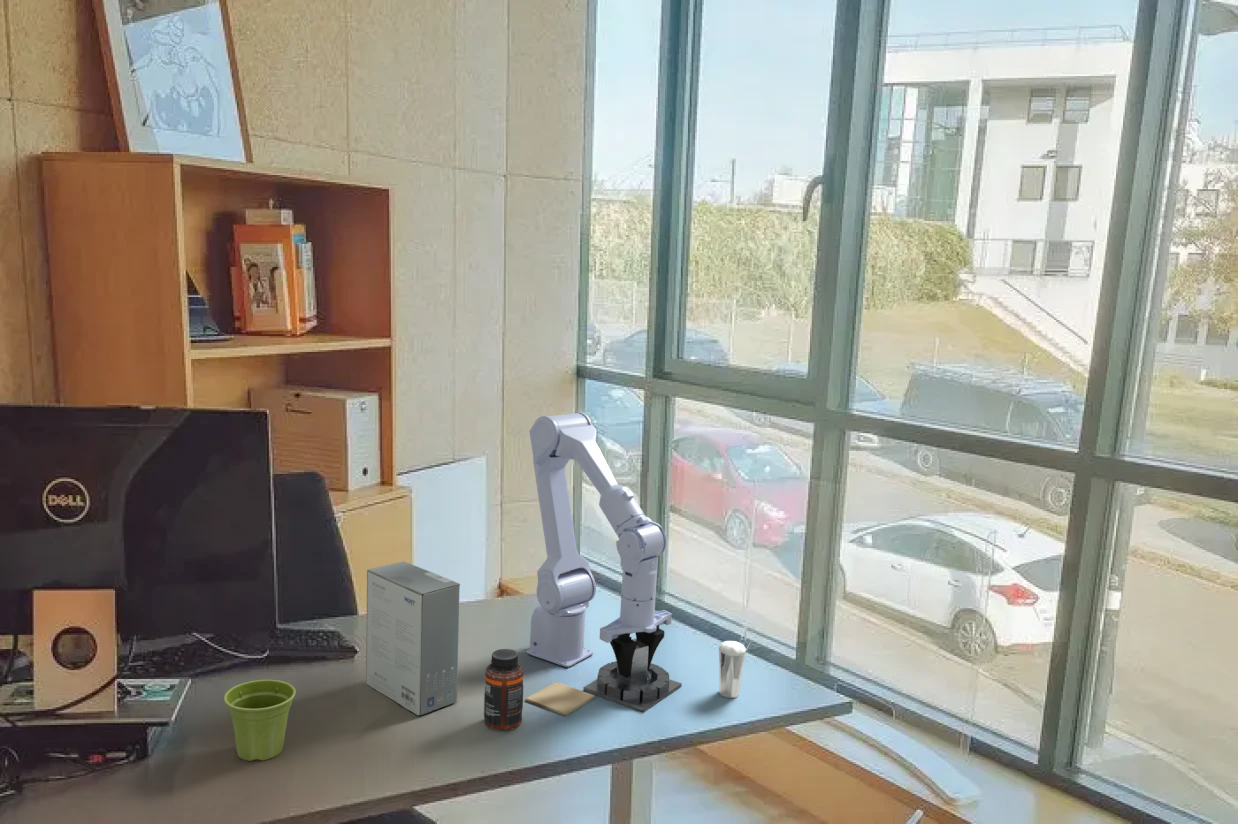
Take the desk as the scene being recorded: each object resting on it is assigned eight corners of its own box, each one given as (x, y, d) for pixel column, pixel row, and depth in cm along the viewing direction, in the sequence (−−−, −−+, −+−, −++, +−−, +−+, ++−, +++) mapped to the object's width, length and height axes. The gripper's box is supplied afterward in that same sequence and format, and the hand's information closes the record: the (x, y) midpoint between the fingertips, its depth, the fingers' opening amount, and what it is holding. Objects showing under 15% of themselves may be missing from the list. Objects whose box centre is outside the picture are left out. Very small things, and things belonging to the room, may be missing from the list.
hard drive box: (458, 703, 153) (462, 584, 150) (419, 718, 147) (421, 594, 144) (402, 671, 163) (404, 559, 160) (363, 684, 158) (364, 568, 154)
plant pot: (265, 728, 142) (264, 673, 140) (309, 747, 137) (309, 690, 136) (210, 754, 134) (209, 696, 132) (255, 775, 129) (255, 715, 128)
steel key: (630, 690, 159) (632, 650, 158) (616, 682, 162) (618, 643, 160) (646, 684, 161) (648, 645, 160) (632, 676, 164) (634, 638, 163)
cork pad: (525, 700, 155) (525, 698, 155) (556, 683, 161) (556, 681, 161) (565, 715, 150) (565, 713, 150) (594, 697, 157) (594, 695, 157)
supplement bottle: (528, 718, 149) (531, 650, 147) (512, 735, 143) (514, 664, 142) (494, 710, 151) (496, 643, 149) (476, 727, 145) (478, 657, 143)
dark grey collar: (583, 690, 160) (584, 676, 159) (622, 667, 169) (623, 654, 169) (643, 712, 153) (644, 698, 153) (681, 686, 163) (682, 673, 162)
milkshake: (746, 702, 158) (750, 645, 157) (714, 698, 159) (718, 641, 158) (748, 690, 163) (752, 635, 161) (716, 686, 164) (720, 631, 162)
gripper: (621, 611, 151) (616, 692, 153) (686, 594, 160) (681, 670, 163) (593, 598, 156) (589, 676, 158) (657, 582, 166) (652, 655, 168)
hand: (633, 672), depth 161 cm, fingers closed on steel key, 4 cm apart
